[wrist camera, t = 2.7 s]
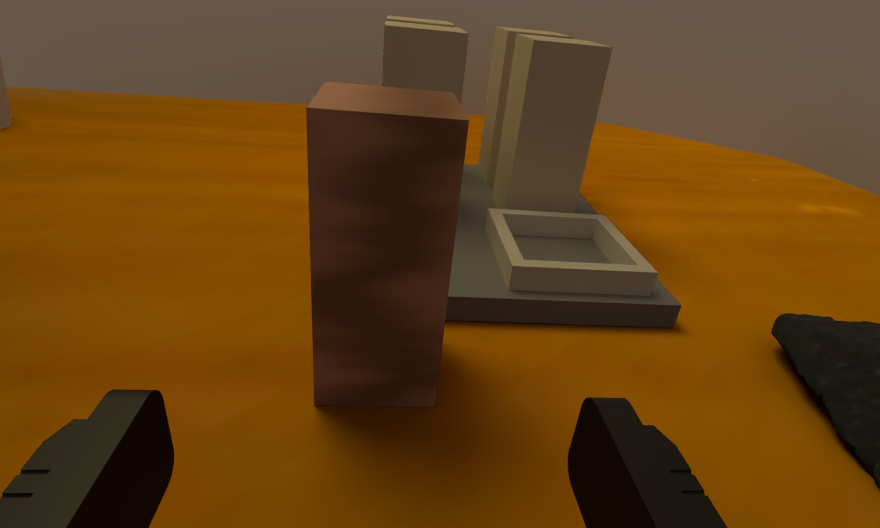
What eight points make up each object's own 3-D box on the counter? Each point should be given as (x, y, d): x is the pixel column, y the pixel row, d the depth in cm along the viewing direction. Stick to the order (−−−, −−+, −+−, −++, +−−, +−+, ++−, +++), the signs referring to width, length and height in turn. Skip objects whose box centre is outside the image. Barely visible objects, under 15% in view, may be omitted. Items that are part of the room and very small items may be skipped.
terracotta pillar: (314, 405, 21) (306, 107, 16) (328, 333, 25) (325, 81, 20) (435, 407, 22) (468, 120, 16) (428, 336, 26) (452, 92, 20)
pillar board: (331, 316, 27) (329, 35, 20) (359, 172, 48) (362, 12, 42) (673, 327, 29) (765, 77, 23) (555, 185, 50) (586, 35, 44)
